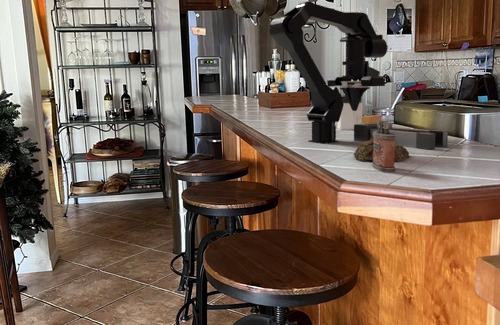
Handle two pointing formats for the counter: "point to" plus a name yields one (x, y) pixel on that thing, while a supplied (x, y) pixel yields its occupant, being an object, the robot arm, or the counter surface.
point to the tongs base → (402, 138)
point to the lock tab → (371, 119)
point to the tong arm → (440, 135)
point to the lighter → (384, 147)
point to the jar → (350, 115)
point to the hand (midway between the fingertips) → (354, 110)
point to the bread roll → (367, 149)
